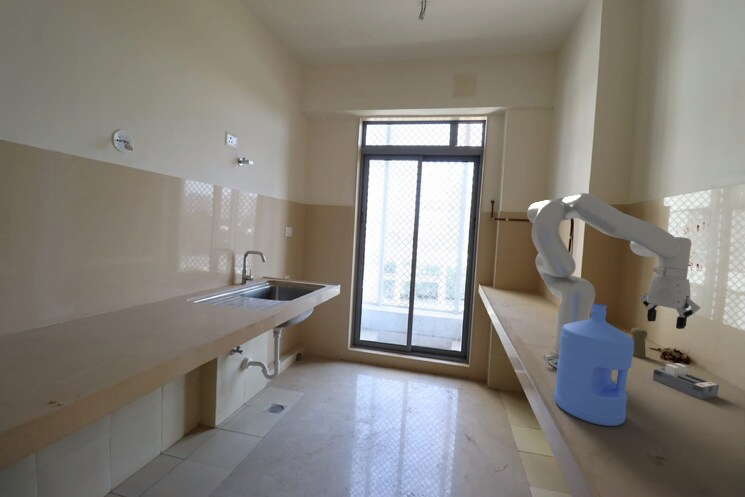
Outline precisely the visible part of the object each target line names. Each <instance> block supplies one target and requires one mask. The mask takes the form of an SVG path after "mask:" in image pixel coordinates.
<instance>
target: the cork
mask: <svg viewBox="0 0 745 497" xmlns="http://www.w3.org/2000/svg"><path fill="white" fill-rule="evenodd" d="M630 334H631V336H630V337H631V338H632V339H633V340H634V353H633V357H634V358H638V359H646V358H647V354H646V338H647V337H648V331H647V330H646V329H643V328H640V327H632V328H631V330H630ZM633 357H632V358H633Z"/></svg>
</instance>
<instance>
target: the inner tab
mask: <svg viewBox="0 0 745 497" xmlns="http://www.w3.org/2000/svg"><path fill="white" fill-rule="evenodd" d="M664 368H665V373H666V374H669V375H672V376H674V377H677V376H678V369H679V367H677V366H674V364H670V363H669V364H667V363H666V364H665V367H664Z"/></svg>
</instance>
